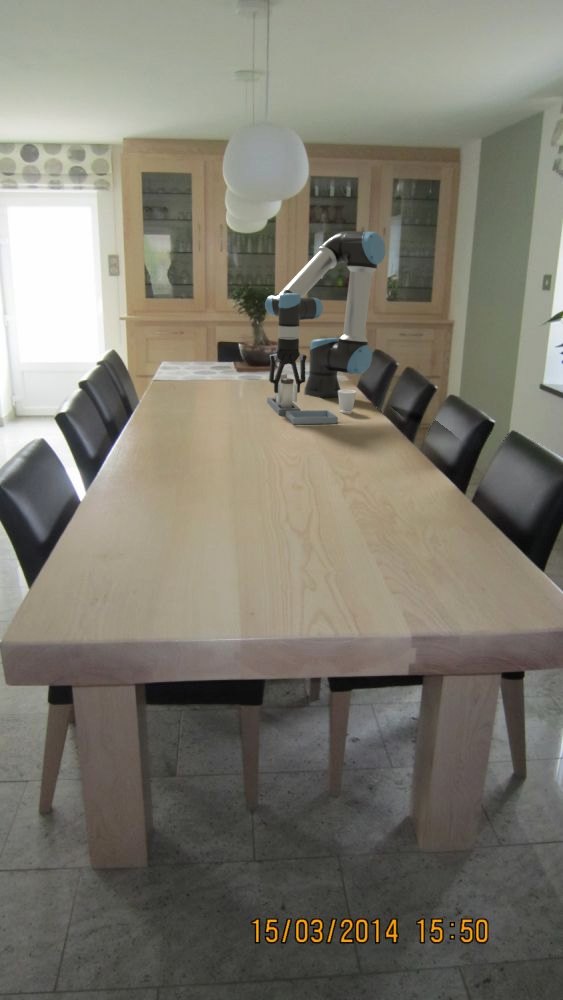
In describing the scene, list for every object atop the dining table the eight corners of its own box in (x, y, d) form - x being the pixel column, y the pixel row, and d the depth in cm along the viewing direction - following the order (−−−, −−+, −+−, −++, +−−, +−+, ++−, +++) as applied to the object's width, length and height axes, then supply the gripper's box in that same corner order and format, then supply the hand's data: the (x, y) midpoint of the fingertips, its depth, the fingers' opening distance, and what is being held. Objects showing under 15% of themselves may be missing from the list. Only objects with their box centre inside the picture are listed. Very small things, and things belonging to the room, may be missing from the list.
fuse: (284, 404, 290) (285, 373, 286) (287, 406, 286) (288, 375, 282) (273, 404, 289) (273, 373, 285) (275, 406, 285) (276, 375, 281)
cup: (338, 414, 278) (339, 392, 275) (333, 408, 287) (334, 387, 284) (357, 414, 278) (358, 393, 276) (351, 408, 288) (353, 387, 285)
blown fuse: (291, 410, 280) (292, 378, 276) (293, 412, 276) (294, 380, 272) (279, 410, 279) (279, 378, 275) (281, 413, 275) (282, 380, 271)
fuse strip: (287, 403, 294) (287, 397, 293) (300, 416, 273) (300, 409, 272) (267, 404, 292) (267, 397, 291) (278, 416, 272) (279, 409, 271)
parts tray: (328, 416, 274) (328, 409, 273) (337, 424, 262) (337, 417, 262) (285, 417, 270) (285, 410, 269) (293, 425, 259) (293, 418, 258)
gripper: (311, 336, 274) (308, 399, 282) (260, 336, 270) (259, 399, 278) (316, 339, 267) (313, 403, 275) (265, 339, 263) (263, 404, 271)
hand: (286, 401), depth 276 cm, fingers open, 6 cm apart
